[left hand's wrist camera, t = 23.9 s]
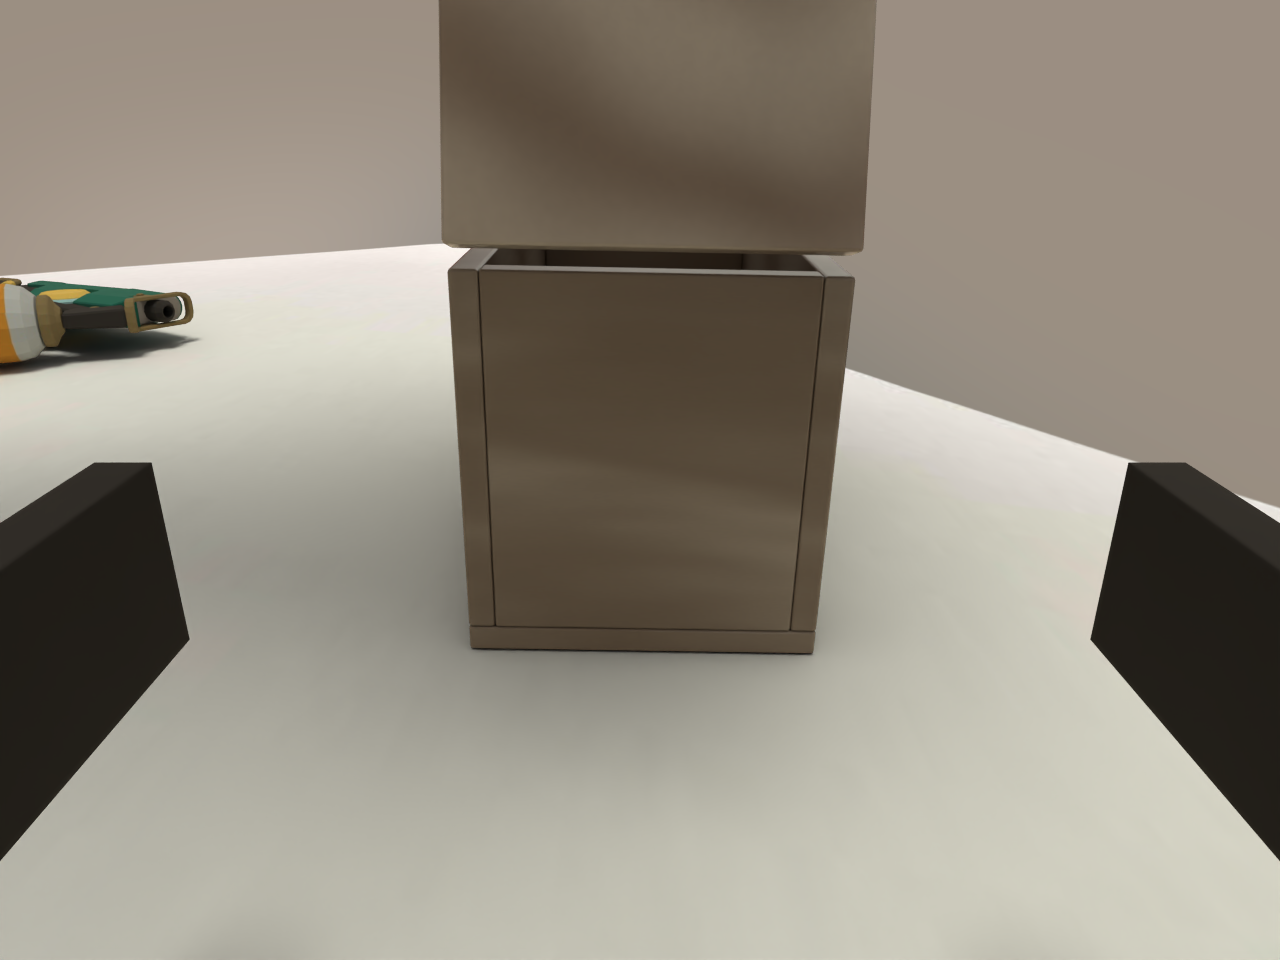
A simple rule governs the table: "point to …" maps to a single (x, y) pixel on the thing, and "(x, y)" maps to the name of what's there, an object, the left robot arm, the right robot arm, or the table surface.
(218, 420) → the table surface
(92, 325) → the spray gun
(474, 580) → the chest
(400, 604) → the table surface
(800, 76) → the lid
